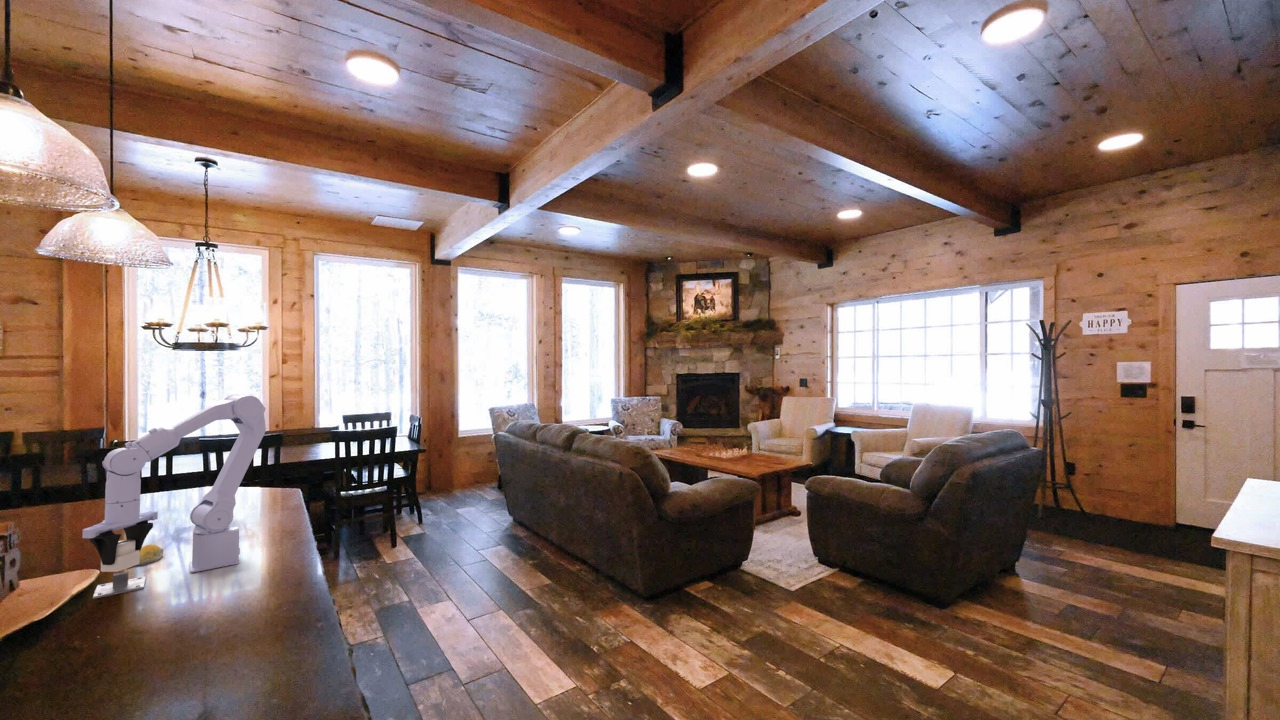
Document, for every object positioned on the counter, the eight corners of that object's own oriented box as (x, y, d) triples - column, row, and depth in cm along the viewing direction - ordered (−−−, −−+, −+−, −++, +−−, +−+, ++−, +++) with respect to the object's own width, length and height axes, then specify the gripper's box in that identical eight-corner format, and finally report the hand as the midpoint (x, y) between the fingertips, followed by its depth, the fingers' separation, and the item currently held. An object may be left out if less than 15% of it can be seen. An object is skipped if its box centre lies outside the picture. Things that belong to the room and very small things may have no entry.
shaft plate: (145, 578, 123) (146, 564, 123) (143, 588, 117) (144, 574, 117) (97, 587, 118) (97, 573, 118) (92, 599, 112) (93, 583, 112)
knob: (121, 563, 120) (122, 538, 120) (141, 563, 120) (141, 538, 120) (99, 571, 115) (99, 545, 115) (119, 571, 115) (119, 545, 115)
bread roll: (120, 560, 135) (121, 545, 135) (165, 554, 139) (166, 539, 140) (108, 570, 128) (108, 554, 128) (156, 564, 132) (156, 548, 132)
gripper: (139, 492, 125) (137, 548, 125) (70, 508, 111) (68, 571, 110) (166, 493, 125) (164, 549, 124) (100, 509, 110) (98, 572, 110)
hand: (121, 560), depth 117 cm, fingers closed on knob, 5 cm apart
